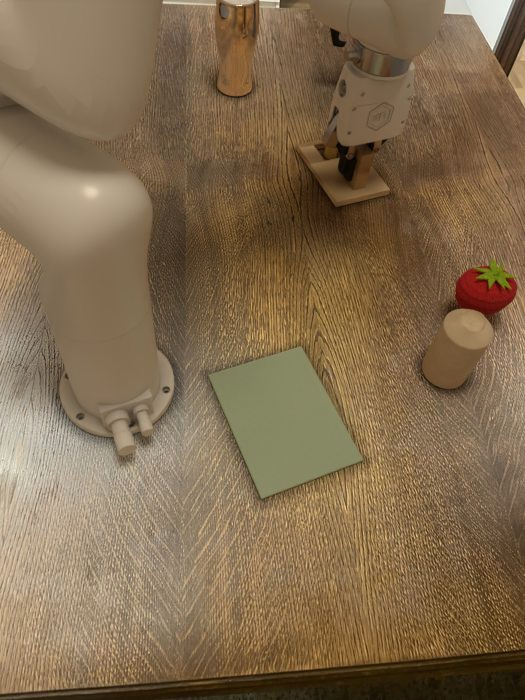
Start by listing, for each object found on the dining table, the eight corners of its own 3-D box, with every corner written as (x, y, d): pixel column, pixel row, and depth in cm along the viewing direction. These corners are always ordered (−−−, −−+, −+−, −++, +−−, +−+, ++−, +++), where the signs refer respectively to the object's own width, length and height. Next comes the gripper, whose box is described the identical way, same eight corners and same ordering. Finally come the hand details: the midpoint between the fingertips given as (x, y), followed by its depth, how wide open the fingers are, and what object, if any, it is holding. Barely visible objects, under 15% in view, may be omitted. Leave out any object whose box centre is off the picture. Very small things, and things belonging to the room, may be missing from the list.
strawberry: (436, 299, 80) (462, 245, 71) (490, 297, 81) (522, 243, 72) (449, 335, 76) (477, 283, 68) (505, 333, 77) (540, 281, 69)
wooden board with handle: (295, 149, 95) (301, 109, 90) (346, 139, 98) (354, 99, 92) (335, 207, 88) (344, 168, 83) (388, 194, 91) (401, 155, 85)
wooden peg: (342, 159, 95) (355, 97, 86) (326, 162, 94) (338, 101, 85) (334, 148, 96) (346, 87, 88) (318, 151, 96) (329, 90, 87)
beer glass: (262, 84, 105) (269, -7, 92) (240, 103, 101) (244, 10, 89) (229, 70, 106) (232, -21, 94) (206, 88, 103) (205, -5, 91)
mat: (362, 461, 66) (363, 459, 65) (261, 500, 62) (261, 498, 62) (301, 347, 74) (301, 345, 73) (207, 376, 70) (207, 374, 70)
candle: (456, 397, 71) (489, 349, 63) (414, 375, 72) (440, 325, 64) (472, 365, 74) (505, 315, 66) (431, 344, 75) (459, 292, 67)
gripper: (339, 79, 71) (315, 201, 86) (452, 60, 75) (410, 178, 90) (311, 46, 75) (293, 168, 90) (420, 29, 79) (386, 148, 94)
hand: (352, 172), depth 90 cm, fingers closed on wooden board with handle
